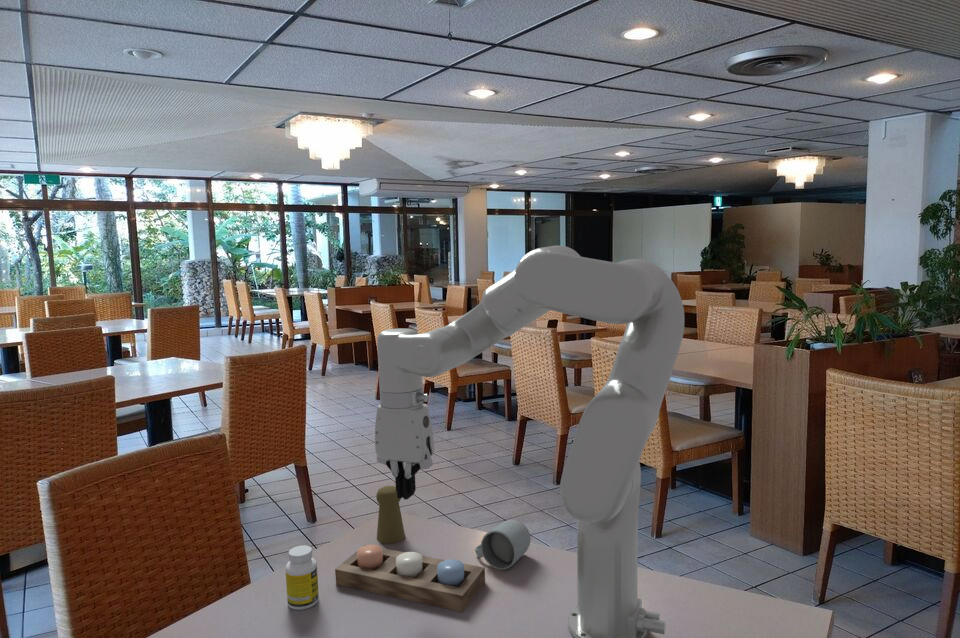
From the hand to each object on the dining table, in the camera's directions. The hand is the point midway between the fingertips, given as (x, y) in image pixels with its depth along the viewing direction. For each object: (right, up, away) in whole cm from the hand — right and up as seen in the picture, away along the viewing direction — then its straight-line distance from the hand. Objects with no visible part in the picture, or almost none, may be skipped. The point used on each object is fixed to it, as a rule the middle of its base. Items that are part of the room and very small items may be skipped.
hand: (406, 495), depth 121 cm
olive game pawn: (-6, -15, +21) cm, 26 cm away
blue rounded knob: (+8, -15, -1) cm, 17 cm away
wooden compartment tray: (+1, -17, +2) cm, 17 cm away
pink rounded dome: (-7, -15, +5) cm, 17 cm away
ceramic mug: (+18, -16, +10) cm, 26 cm away
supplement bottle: (-18, -18, -3) cm, 26 cm away
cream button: (0, -15, +2) cm, 15 cm away
